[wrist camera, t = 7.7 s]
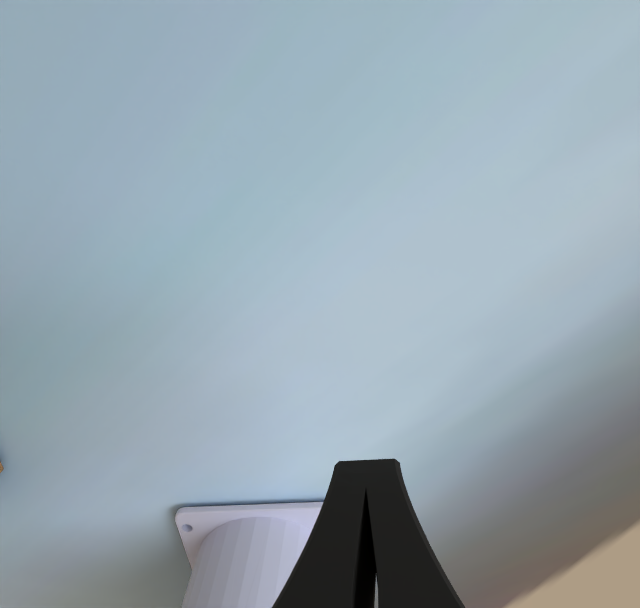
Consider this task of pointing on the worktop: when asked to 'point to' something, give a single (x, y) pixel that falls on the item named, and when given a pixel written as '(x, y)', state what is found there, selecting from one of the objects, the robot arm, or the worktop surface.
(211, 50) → the worktop surface
